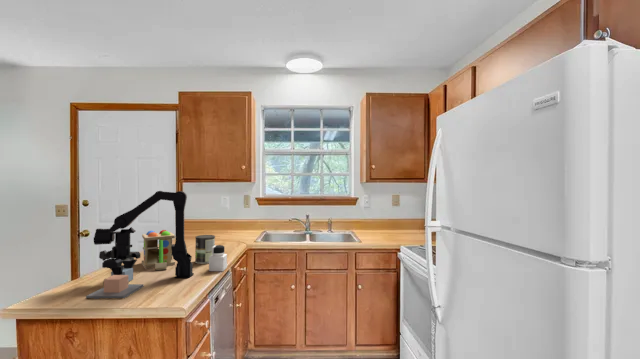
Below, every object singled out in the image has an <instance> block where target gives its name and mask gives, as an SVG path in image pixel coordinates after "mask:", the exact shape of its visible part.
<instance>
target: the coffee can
mask: <svg viewBox="0 0 640 359" xmlns="http://www.w3.org/2000/svg"><path fill="white" fill-rule="evenodd" d="M215 240H216V235H213V234H201V235H196V236H195V247H194V248H195V252H194V253H195V258H194V259H195V261H194V263H195V264H197V265H207V264H208V265H209V257H210V256H211V255H213V254H212V247H213V246H215V244H216V243H215V242H216V241H215Z"/></svg>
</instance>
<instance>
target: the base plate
mask: <svg viewBox="0 0 640 359" xmlns="http://www.w3.org/2000/svg"><path fill="white" fill-rule="evenodd" d="M144 286H145V284H141V283H139V284H138V283H137V284H136V283H135V284H133V283H131V284H130V283H128V288H126V289H125V290H123V291H121V292H104V286H103V287H101V288H100V289H99V288H98V290H95V291H94V292H93V291H92V293H89V294H87V295H86V296H85V299H86V298H94V299H95V300H97V299H98V300H100V299H99V298H124V299H125V297H126V298H127V297H129V296H131V295H132V294H133V293H136V292H137V291H139V290H141V289H142V288H144ZM130 294H131V295H130ZM94 299H93V300H94Z"/></svg>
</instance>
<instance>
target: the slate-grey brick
mask: <svg viewBox="0 0 640 359" xmlns="http://www.w3.org/2000/svg"><path fill="white" fill-rule="evenodd" d="M113 275H114V274H113V272H112V271H110V276H113ZM121 275H129V276H128V283H129V282H130V281H131V282H132V281H133V280H134V268H123V271H122V274H121Z"/></svg>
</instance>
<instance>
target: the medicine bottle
mask: <svg viewBox="0 0 640 359" xmlns="http://www.w3.org/2000/svg"><path fill="white" fill-rule="evenodd" d="M212 254H213V255H211V256H210V257H209V263H208V271H209V272H224V271H225V270H226V269H227V268H228V254H227V253H225V246H224V245H222V244H218V245H215V246H213V247H212Z"/></svg>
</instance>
